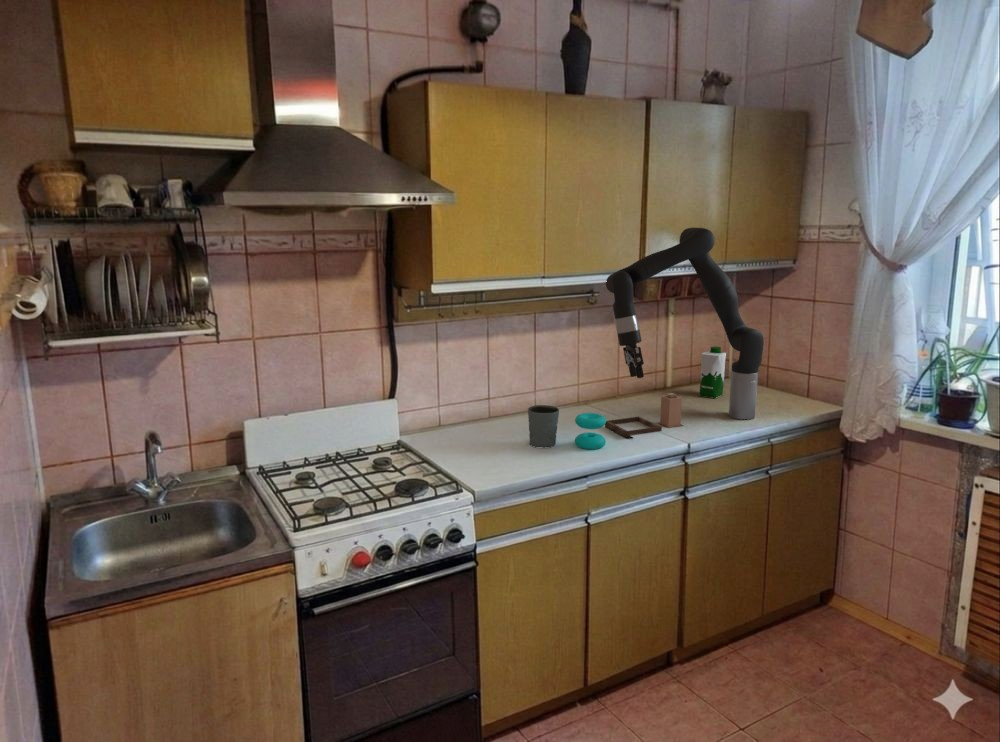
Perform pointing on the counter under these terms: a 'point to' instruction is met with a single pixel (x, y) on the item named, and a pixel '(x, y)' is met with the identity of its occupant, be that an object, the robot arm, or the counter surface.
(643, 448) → the counter surface
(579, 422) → the donuts
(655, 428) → the tray
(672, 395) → the post
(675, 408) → the sleeve
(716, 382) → the milk carton
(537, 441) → the grey tapered cup
